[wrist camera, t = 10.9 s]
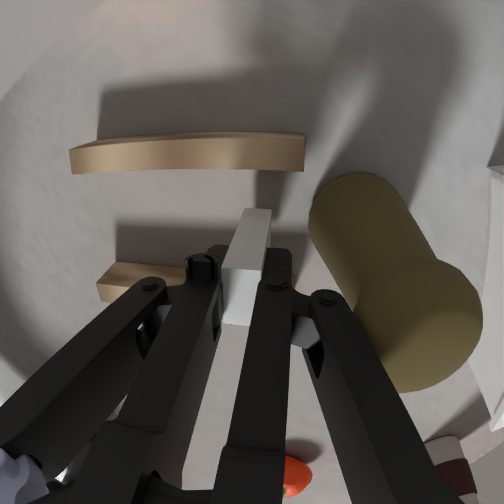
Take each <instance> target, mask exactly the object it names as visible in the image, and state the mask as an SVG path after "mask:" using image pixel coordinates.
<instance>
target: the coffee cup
mask: <svg viewBox="0 0 504 504" xmlns="http://www.w3.org/2000/svg"><path fill="white" fill-rule="evenodd" d="M424 445H425V447H426V449H427V451H428V454H429V456H430V458H431V460H432V462H433V464H434V466H435V468H436V470H437V473H438V475H439V477H440V479H441V480H442V481H443V482H444V483H445V484H446V485H447V486H448V487H449V488H450V489H451V490H452V491H453V492H454V493H455V494H456V495H457V496H458V497H459V498H460V499H461V500H462V501H463V502H464V503H465V504H479V503H478V499H477V496H476V494H477V489H476V486H475V482H474V480H473V476H472V473H471V470H470V467H469V464H468V461H467V459H465V457H464V454H463V451H462V448H461V445H460V442H459V440H458V438H457V437H455V436H444V437H440V438H437V439H434V440H431V441H429V442H427V443H425V444H424Z"/></svg>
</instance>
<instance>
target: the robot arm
mask: <svg viewBox="0 0 504 504" xmlns="http://www.w3.org/2000/svg"><path fill="white" fill-rule="evenodd" d="M271 216H272V209H256V208H245V209H244V212H243V214H242V217H241V219H240V222H239V224H238V226H237V229H236V231H235V234H234V236H233V239H232V241H231V244H230V246H226V245H214V246H212V247H211V248H209V249H208V251H207V253H200V254H194V255H191V256H189V257H187V258H186V259H185V260H184V262H185V271H186V280H185V282H184V284H181V285H175V286H166V282H165V280H164V279H162V278H160V277H154V276H151V277H146V278H143V279H141V280H139V281H137V282H136V283H135V284H134V285H132V286H131V287H130V288H129V289H128V290H127V291H125V292H124V293H123V294H122V295H121V296H120V297H118V298H117V299H116V300H115V301H114V302H113V303H111V304H110V305H109V306H108V307H107V308H106V309H105V310H103V311H102V312H101V313H100V314H99V315H98V316H97V317H95V318H94V319H93V320H92V321H91V322H90V323H89V324H88V325H86V326H85V327H84V328H83V329H82V330H81V331H80V332H79V333H78V334H76V335H75V336H74V337H73V338H72V339H71V340H70V341H69V342H68V343H67V344H65V345H64V346H63V347H62V348H61V349H60V350H59V351H58V352H57V353H56V354H55V355H54V356H52V357H51V358H50V359H49V360H48V361H47V362H46V363H45V364H44V365H43V366H42V367H41V368H40V369H39V370H38V371H37V372H35V373H34V374H33V375H32V376H31V377H30V378H29V379H28V380H27V381H26V382H25V383H24V384H23V385H22V386H21V387H20V388H19V389H18V390H17V391H16V392H15V393H14V394H13V395H12V396H11V397H10V398H9V399H8V400H7V401H6V402H5V403H4V404H3V405H2V406H1V407H0V504H282V497H283V486H284V474H285V460H286V453H285V438H286V423H287V407H288V390H289V370H290V347H291V344H293V345H296V346H299V347H302V352H303V355H304V358H305V361H306V364H307V367H308V370H309V373H310V376H311V379H312V382H313V385H314V388H315V391H316V394H317V397H318V400H319V403H320V406H321V409H322V412H323V415H324V418H325V421H326V424H327V427H328V430H329V434H330V437H331V440H332V443H333V446H334V449H335V452H336V455H337V458H338V461H339V464H340V468H341V471H342V474H343V477H344V480H345V483H346V486H347V489H348V493H349V496H350V499H351V502H352V504H465V503H464V502H463V501H462V500H461V499H460V498H459V497H458V496H457V495H456V494H455V493H454V492H453V491H452V490H451V489H450V488H449V487H448V486H447V485H446V484H445V483H444V482H443V481H442V480H441V479H440V477H439V475H438V473H437V470H436V468H435V466H434V464H433V462H432V460H431V458H430V456H429V454H428V451H427V449H426V447H425V445H424V443H423V441H422V439H421V437H420V435H419V433H418V431H417V429H416V427H415V425H414V423H413V421H412V419H411V417H410V415H409V413H408V411H407V410H406V408H405V406H404V404H403V402H402V400H401V398H400V396H399V394H398V392H397V390H396V389H395V387H394V385H393V383H392V381H391V379H390V377H389V376H388V374H387V372H386V370H385V368H384V366H383V365H382V363H381V361H380V359H379V357H378V356H377V354H376V352H375V350H374V348H373V347H372V345H371V343H370V341H369V340H368V338H367V336H366V334H365V333H364V331H363V329H362V327H361V326H360V324H359V322H358V320H357V319H356V317H355V315H354V314H353V312H352V310H351V308H350V307H349V305H348V303H347V302H346V300H345V298H344V297H343V296H342V295H341V294H340V293H338V292H336V291H333V290H329V289H321V290H316V291H315V292H313V293H312V294H311V296H307V295H304V294H301V293H299V292H297V291H296V290H295V289H294V288H293V286H292V283H291V282H292V254H291V252H290V251H289V250H288V249H283V248H270V239H271ZM222 317H223V321H224V323H225V324H235V325H246V326H250V328H249V333H248V338H247V343H246V349H245V354H244V359H243V364H242V369H241V374H240V379H239V384H238V389H237V394H236V399H235V404H234V409H233V414H232V419H231V424H230V429H229V434H228V439H227V443H226V445H225V446H224V447H223V449H222V452H221V456H220V460H219V465H218V470H217V474H216V479H215V483H214V488H213V490H182V489H181V488H182V470H183V466H184V462H185V459H186V455H187V452H188V448H189V444H190V441H191V437H192V434H193V430H194V426H195V423H196V419H197V416H198V412H199V409H200V405H201V401H202V398H203V394H204V391H205V387H206V384H207V380H208V377H209V373H210V370H211V366H212V363H213V359H214V356H215V352H216V349H217V345H218V342H219V338H220V335H221V320H222ZM141 324H142V327H141V328H140V329H139V330H138V327H139V326H140V325H141ZM127 394H128V395H127ZM126 395H127V397H126V399H125V401H124V404H123V406H122V408H121V410H120V412H119V414H118V416H117V418H116V419H115V420H114V421H106V422H105V420H106V419H107V418H108V417H109V416H110V414H111V413H112V412H113V411H114V410H115V408H116V407H117V406H118V405H119V403H120V402H121V401H122V400H123V399H124V397H125V396H126ZM98 429H99V430H98ZM97 430H98V432H97V434H96V435H95V433H96V431H97ZM66 467H67V472H66V474H65V476H64V479H63V481H62V482H60V481H58V480H56V479H55V477H57V476H58V475H59V474H60V473H61V472H63V471H64V469H65V468H66Z"/></svg>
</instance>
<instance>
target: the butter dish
mask: <svg viewBox="0 0 504 504" xmlns="http://www.w3.org/2000/svg"><path fill="white" fill-rule="evenodd" d="M479 298H480V300H481V304H482V310H483V329H482V333H481V337H480V341H479V342H478V344H477V346H476V348H475V349H474V351H473V353H472V354H471V356H470V357H469V358H468V359H467V360H468V362H469V365H470V367H471V369H472V371H473V374H474V376H475V378H476V380H477V383H478V385H479V388H480V390H481V392H482V395H483V397H484V400H485V402H486V405H487V408H488V410H489V413H490V415H491V418H492V420H491V422H490V423H489V427H490V430H491V432H493V431H495V430H497V429H500V428H502V427H504V165H499V166H492V167H487V221H486V239H485V251H484V261H483V270H482V278H481V285H480V292H479Z"/></svg>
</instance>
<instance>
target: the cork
mask: <svg viewBox="0 0 504 504" xmlns="http://www.w3.org/2000/svg"><path fill="white" fill-rule="evenodd" d="M308 229H309V233H310V236H311V240H312V242H313V244H314V246H315V247H316V249H317V251H318V252H319V254H320V256H321V257H322V259H323V261H324V262H325V264H326V266H327V267H328V269H329V271H330V273H331V274H332V276H333V278H334V279H335V281H336V283H337V285H338V286H339V288H340V290H341V292H342V293H343V295H344V297H345V299H346V301H347V302H348V304H349V306H350V308H351V309H352V311H353V314H354V315H355V317H356V319H357V320H358V322H359V324H360V326H361V327H362V329H363V331H364V333H365V334H366V336H367V338H368V340H369V341H370V343H371V345H372V347H373V348H374V350H375V352H376V354H377V356H378V357H379V359H380V361H381V363H382V365H383V366H384V368H385V370H386V372H387V374H388V376H389V377H390V379H391V381H392V383H393V385H394V387H395V389H396V390H397V392H398V393H406V392H413V391H419V390H422V389H425V388H428V387H431V386H433V385H435V384H437V383H439V382H441V381H443V380H444V379H446V378H448V377H449V376H450V375H452V374H453V373H454V372H455V371H457V370H458V369H459V368H460V367H461V366H462V365H463V364H464V363H465V362H466V360H467V359H468V358H469V357H470V356H471V354H472V353H473V351H474V349H475V348H476V346H477V344H478V342H479V341H480V337H481V333H482V329H483V310H482V304H481V300H480V298H479V295H478V292H477V290H476V289H475V288H474V286H473V285H472V284H471V283H470V281H469V280H468V279H467V278H466V277H465V275H464V274H463V273H462V272H461V271H460V270H459V269H457V268H456V267H454V266H452V265H450V264H448V263H446V262H443V261H441V260H438V259H437V258H436V256H435V254H434V253H433V251H432V249H431V247H430V245H429V244H428V242H427V240H426V238H425V237H424V235H423V233H422V232H421V230H420V228H419V226H418V225H417V223H416V221H415V220H414V218H413V217H412V215H411V213H410V212H409V210H408V209H407V207H406V205H405V204H404V202H403V201H402V199H401V198H400V196H399V195H398V193H397V192H396V190H395V189H394V188H393V187H392V186H391V185H390V184H389V183H388V182H387V181H386V180H385V179H382V178H380V177H378V176H376V175H373V174H369V173H352V174H348V175H344V176H340V177H339V178H337V179H335V180H334V181H332V182H331V183H329V184H327V185H326V186H325V187H324V188H323V190H322V191H321V192H320V193H319V194H318V195H317V197H316V198H315V200H314V202H313V205H312V207H311V209H310V212H309V222H308Z"/></svg>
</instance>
